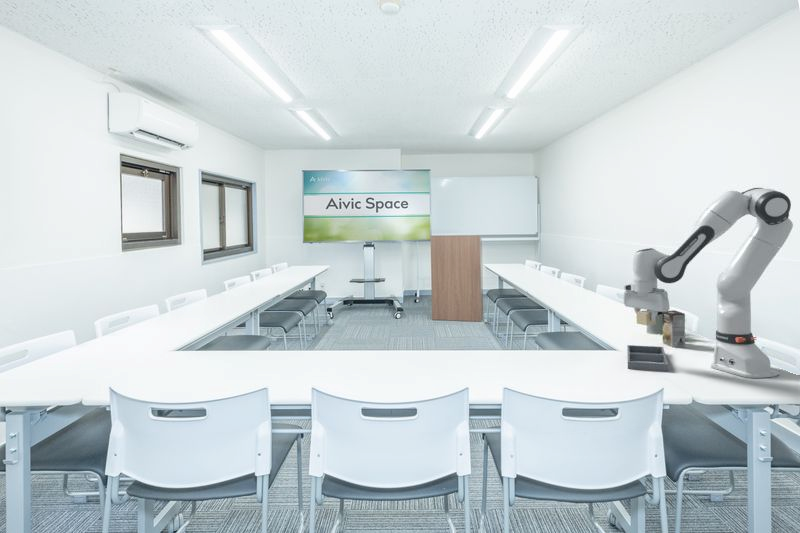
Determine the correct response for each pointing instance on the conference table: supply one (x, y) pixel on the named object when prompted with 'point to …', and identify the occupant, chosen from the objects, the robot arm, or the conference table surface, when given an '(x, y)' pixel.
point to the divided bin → (647, 358)
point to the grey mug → (656, 325)
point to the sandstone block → (644, 318)
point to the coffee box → (673, 328)
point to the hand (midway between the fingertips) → (646, 319)
